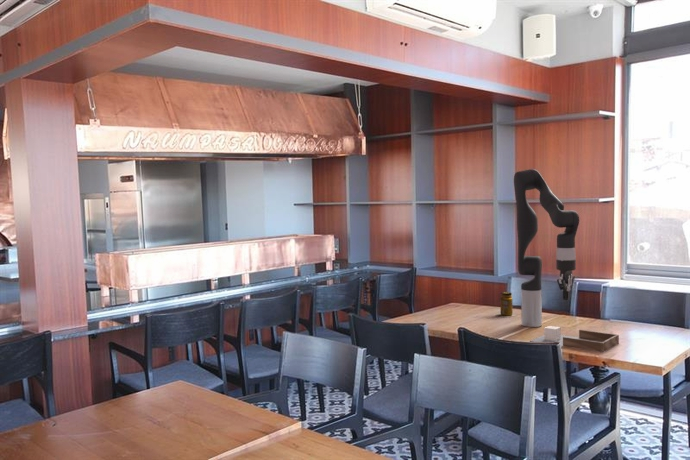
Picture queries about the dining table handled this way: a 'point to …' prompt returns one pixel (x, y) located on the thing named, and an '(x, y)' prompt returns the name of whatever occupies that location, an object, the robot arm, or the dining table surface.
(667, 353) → the dining table surface
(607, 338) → the tray
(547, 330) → the cream cube
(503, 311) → the condiment
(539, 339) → the slate board
